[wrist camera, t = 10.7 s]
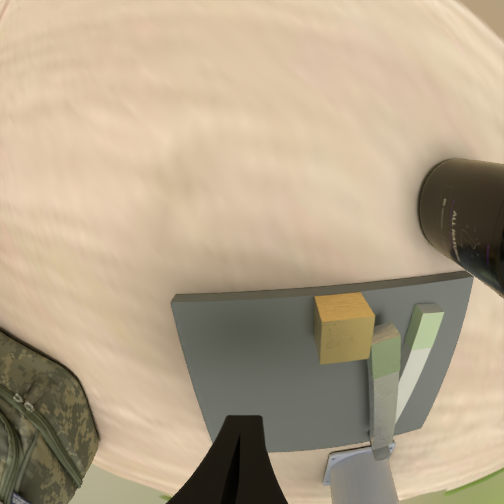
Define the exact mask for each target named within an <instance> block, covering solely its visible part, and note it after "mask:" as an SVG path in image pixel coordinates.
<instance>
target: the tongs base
mask: <svg viewBox="0 0 504 504" xmlns="http://www.w3.org/2000/svg"><path fill="white" fill-rule="evenodd" d="M473 278H474V276H472V275H471V274H470V273H468V272H467V271H460V272H453V273H445V274H438V275H430V276H422V277H414V278H405V279H396V280H387V281H377V282H367V283H357V284H346V285H335V286H323V287H310V288H297V289H282V290H266V291H249V292H229V293H206V294H176V295H175V296H174V298H173V299H172V301H171V302H170V303H171V307H172V311H173V315H174V319H175V323H176V327H177V331H178V335H179V339H180V343H181V346H182V350H183V354H184V357H185V361H186V364H187V368H188V371H189V374H190V378H191V381H192V384H193V387H194V391H195V394H196V397H197V400H198V403H199V406H200V409H201V412H202V415H203V418H204V421H205V424H206V426H207V429H208V432H209V435H210V438H211V440H212V443H214V441H215V439H216V437H217V435H218V433H219V431H220V429H221V427H222V425H223V423H224V420H225V418H226V416H228V415H260V416H262V417H263V425H264V433H265V445H266V449H267V452H290V451H304V450H315V449H324V448H332V447H339V446H345V445H352V444H357V443H363V442H368V441H370V444H371V440H370V407H369V380H368V366H367V360H366V359H362V360H355V361H348V362H340V363H331V364H322V365H320V363H319V358H318V353H317V348H316V344H315V339H314V296H324V295H336V294H346V293H357V292H361V294H362V295H363V297H364V299H365V300H366V302H367V303H368V305H369V307H370V308H371V310H372V312H373V313H374V315H375V322H374V327H375V326H378V325H381V324H384V323H387V322H390V321H392V323H393V324H394V326H395V327H396V329H397V331H398V332H399V334H400V335H401V356H400V371H399V385H398V399H397V410H396V420H395V428H394V436H395V435H399V434H402V433H406V432H410V431H413V430H417V429H420V428H421V427H422V426H423V424H424V422H425V420H426V418H427V416H428V414H429V412H430V410H431V407H432V405H433V403H434V401H435V399H436V397H437V394H438V392H439V390H440V387H441V385H442V382H443V380H444V378H445V375H446V372H447V370H448V367H449V365H450V362H451V359H452V356H453V353H454V350H455V347H456V344H457V341H458V338H459V335H460V332H461V328H462V325H463V321H464V317H465V314H466V310H467V306H468V302H469V297H470V293H471V288H472V283H473ZM371 448H372V444H371ZM372 452H373V456H374V459H375V460H376V461H380V460H384V459H386V458H388V457H389V456H390V455H391V452H390V449H389V446H385V447H382V448H378V449H375V450H373V448H372Z"/></svg>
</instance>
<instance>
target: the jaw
mask: <svg viewBox="0 0 504 504" xmlns="http://www.w3.org/2000/svg"><path fill="white" fill-rule="evenodd" d="M400 356H401V335H400V334H399V332H398V331H397V329H396V327H395V326H394V324H393V323H392V321H390V322H387V323H384V324H381V325H378V326H375V327H374V329H373V336H372V343H371V349H370V355H369V359H366V360H367V366H368V380H369V407H370V440H371V444H372V448H373V450H375V449H378V448H382V447H385V446H388V445H391V444H392V443H393V436H394V428H395V420H396V410H397V399H398V385H399V371H400Z"/></svg>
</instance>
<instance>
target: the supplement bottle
mask: <svg viewBox="0 0 504 504" xmlns="http://www.w3.org/2000/svg"><path fill="white" fill-rule="evenodd" d="M420 220H421V225H422V228H423V231H424V233H425V236H426V237H427V239H428V241H429V242H430V243H431V244H432V246H433V247H435V248H436V249H437V250H438V251H440V252H441V253H443V254H444V255H445V256H447V257H448V258H450V259H451V260H453V261H454V262H455V263H457V264H458V265H460V266H461V267H463V268H464V269H465V270H467V271H468V272H470V273H471V274H472V275H474V276H475V277H476V278H478V279H479V280H480V281H482V282H483V283H484V284H486V285H487V286H488V287H490V288H491V289H492V290H494V291H495V292H496V293H497V294H499V295H500V296H501V297H503V298H504V164H499V163H492V162H485V161H477V160H468V159H450V160H447V161H444V162H442V163H441V164H439V165H438V166H437V167H436V168H435V169H434V170H433V171H432V172H431V173H430V175H429V176H428V178H427V180H426V182H425V184H424V187H423V190H422V193H421V198H420Z"/></svg>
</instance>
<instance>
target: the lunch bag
mask: <svg viewBox="0 0 504 504" xmlns="http://www.w3.org/2000/svg"><path fill="white" fill-rule="evenodd" d="M97 449H98V438H97V434H96V430H95V427H94V423H93V420H92V417H91V414H90V411H89V408H88V404H87V401H86V398H85V396H84V393H83V391H82V388H81V386H80V385H79V383H78V381H77V380H76V379H75V378H74V377H73V376H72V375H71V374H70V373H69V372H68V371H67V370H66V369H64V368H63V367H61V366H60V365H58V364H56V363H55V362H53V361H51V360H49V359H47V358H45V357H43V356H41V355H40V354H38V353H36V352H34V351H32V350H30V349H29V348H27V347H25V346H23V345H22V344H20V343H18V342H17V341H15V340H13V339H11V338H10V337H8V336H6V335H5V334H3V333H2V332H0V504H68V502H69V501H70V500H71V499H72V498H73V496H74V494H75V491H76V490H77V488H80V487H81V485H82V482H83V481H82V479H83V478H84V476H85V474H86V472H87V470H88V469H89V467H90V465H91V463H92V461H93V459H94V456H95V454H96V452H97Z"/></svg>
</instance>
